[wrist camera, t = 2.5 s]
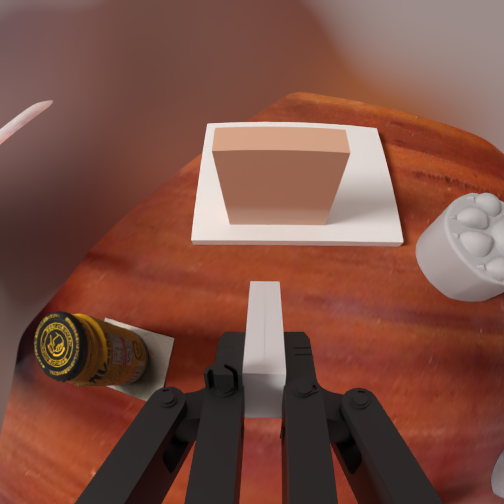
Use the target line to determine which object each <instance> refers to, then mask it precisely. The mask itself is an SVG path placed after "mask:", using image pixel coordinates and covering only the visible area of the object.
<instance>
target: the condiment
mask: <svg viewBox="0 0 504 504" xmlns="http://www.w3.org/2000/svg"><path fill="white" fill-rule="evenodd" d="M33 342H34V351H35V356H36V359H37V362H38V364H39V366H40V367H41V369H42V370H43V371H44V373H45V374H46V375H47V376H49V377H51V378H52V379H55V380H57V381H62V382H65V381H67V382H69V383H71V384H74V385H76V386H82V387H85V386H108V387H111V388H113V389H115V390H118V391H120V392H123V393H125V394H128V395H130V396H133V397H136V398H139V399H141V400H144V401H148V399H149V398H150V396H151V395H152V394H153V393H154V392H155V391H156V390H158V389H160V388H163V386H164V382H165V378H166V373H167V369H168V365H169V359H170V355H171V352H172V347H173V342H174V338H172V337H168V336H165V335H161V334H157V333H153V332H150V331H147V330H143V329H140V328H137V327H133V326H130V325H127V324H124V323H120V322H117V321H114V320H111V319H108V318H105V321H101V320H99V319H96V318H94V317H92V316H88V315H85V314H70V313H67V312H62V311H61V312H60V311H58V312H55V313H49V314H48V315H46V316H45V317H44V318H43V320H42V321H41V322H40V324H39V325H38V328H37V330H36V334H35V339H34V341H33ZM149 349H150V350H151V351H149ZM151 352H153V355H152V354H151ZM135 384H136V385H135Z"/></svg>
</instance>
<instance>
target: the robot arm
mask: <svg viewBox="0 0 504 504" xmlns="http://www.w3.org/2000/svg"><path fill="white" fill-rule="evenodd" d="M204 379H205V385H206V387H205V388H203V389H201V390H199V391H196V392H191V393H185V394H183V392H182V391H181V390H179V389H177V388H175V387H163V388H160V389H158V390H156V391H155V392H154V393H153V394H152V395H151V396H150V398H149V399H148V401H147V402H146V403H145V405H144V406H143V408H142V409H141V411H140V412H139V413H138V415H137V416H136V418H135V419H134V420H133V422H132V423H131V425H130V426H129V428H128V429H127V430H126V432H125V433H124V435H123V436H122V437H121V439H120V440H119V442H118V443H117V445H116V446H115V447H114V449H113V450H112V452H111V453H110V454H109V456H108V457H107V459H106V460H105V461H104V463H103V464H102V466H101V467H100V469H99V470H98V471H97V473H96V474H95V476H94V477H93V478H92V480H91V481H90V483H89V484H88V486H87V487H86V488H85V490H84V491H83V493H82V494H81V495H80V497H79V498H78V500H77V501H76V503H75V504H161V503H162V502H163V500H164V498H165V496H166V494H167V492H168V491H169V489H170V487H171V485H172V483H173V481H174V480H175V478H176V476H177V474H178V472H179V470H180V468H181V466H182V465H183V463H184V461H185V459H186V457H187V455H188V453H189V451H190V449H191V447H192V446H193V444H194V442H195V441H196V443H195V449H194V454H193V459H192V465H191V470H190V476H189V481H188V487H187V492H186V498H185V504H239V499H240V484H241V470H242V455H243V441H244V417H251V418H282V426H281V434H280V438H281V446H282V504H338V500H337V492H336V484H335V476H334V468H333V461H332V453H331V446H332V448H333V450H334V452H335V454H336V456H337V459H338V461H339V463H340V465H341V467H342V469H343V472H344V474H345V476H346V478H347V480H348V482H349V484H350V487H351V489H352V491H353V493H354V495H355V497H356V499H357V501H358V504H443V503H442V501H441V499H440V498H439V496H438V494H437V493H436V491H435V490H434V488H433V486H432V485H431V483H430V481H429V480H428V478H427V477H426V475H425V473H424V472H423V470H422V468H421V467H420V465H419V464H418V462H417V460H416V459H415V457H414V456H413V454H412V453H411V451H410V449H409V448H408V446H407V445H406V443H405V441H404V440H403V438H402V437H401V435H400V434H399V432H398V430H397V429H396V427H395V426H394V424H393V423H392V421H391V420H390V418H389V416H388V415H387V413H386V412H385V410H384V409H383V407H382V406H381V404H380V403H379V401H378V400H377V398H376V396H375V395H374V394H373V393H372V392H370V391H368V390H366V389H362V388H354V389H351V390H349V391H347V392H346V393H345V394H344V395H342V394H337V393H333V392H329V391H327V390H325V389H323V388H322V387H321V386H320V385H319V383H318V382H317V379H316V373H315V367H314V361H313V356H312V350H311V344H310V339H309V338H308V336H307V335H306V334H305V333H304V332H283V321H282V308H281V296H280V283H279V282H261V281H250V293H249V304H248V315H247V326H246V332H225V333H224V334H223V335H222V336H221V337H220V339H219V343H218V349H217V353H216V358H215V363H214V364H212V365H210V366H209V367H208V368H206V370H205V372H204ZM330 443H331V446H330Z"/></svg>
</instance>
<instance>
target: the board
mask: <svg viewBox="0 0 504 504" xmlns="http://www.w3.org/2000/svg"><path fill="white" fill-rule="evenodd" d="M222 127H309V128H329V129H343V130H346V134H347V139H348V143H349V148H350V156H349V159H348V162H347V165H346V168H345V171H344V173H343V176H342V179H341V182H340V185H339V188H338V190H337V193H336V196H335V199H334V202H333V204H332V207H331V210H330V212H329V215H328V218H327V220H326V223H325V225H230V223H229V219H228V215H227V211H226V207H225V203H224V199H223V195H222V191H221V187H220V183H219V179H218V175H217V171H216V166H215V162H214V158H213V154H212V146H213V139H214V132H215V128H222ZM191 241H192V243H193V244H194V245H322V246H400V245H401V244H402V243H403V237H402V231H401V225H400V220H399V215H398V210H397V205H396V201H395V196H394V191H393V187H392V183H391V179H390V175H389V171H388V167H387V163H386V159H385V155H384V152H383V148H382V145H381V141H380V138H379V135H378V131H377V128H369V127H359V126H348V125H335V124H319V123H295V122H237V123H213V124H207V130H206V135H205V142H204V149H203V154H202V161H201V168H200V175H199V182H198V189H197V196H196V204H195V212H194V220H193V229H192V238H191Z"/></svg>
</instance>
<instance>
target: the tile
mask: <svg viewBox="0 0 504 504" xmlns="http://www.w3.org/2000/svg"><path fill="white" fill-rule="evenodd" d="M212 154H213V158H214V162H215V166H216V171H217V175H218V179H219V183H220V187H221V191H222V195H223V199H224V203H225V207H226V211H227V215H228V219H229V223H230V225H325V223H326V220H327V218H328V215H329V212H330V210H331V207H332V204H333V202H334V199H335V196H336V193H337V190H338V188H339V185H340V182H341V179H342V176H343V173H344V171H345V168H346V165H347V162H348V159H349V156H350V148H349V143H348V139H347V134H346V130H343V129H329V128H309V127H222V128H215V132H214V139H213V146H212Z"/></svg>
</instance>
